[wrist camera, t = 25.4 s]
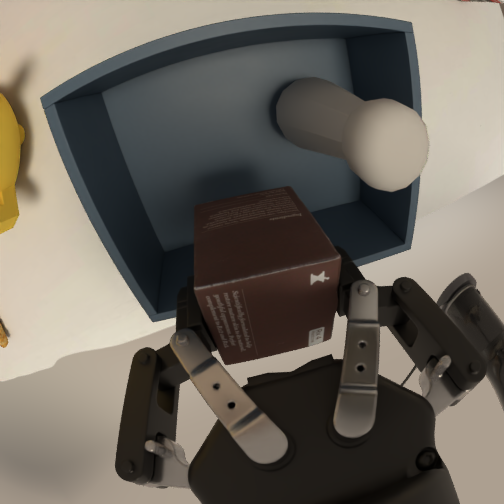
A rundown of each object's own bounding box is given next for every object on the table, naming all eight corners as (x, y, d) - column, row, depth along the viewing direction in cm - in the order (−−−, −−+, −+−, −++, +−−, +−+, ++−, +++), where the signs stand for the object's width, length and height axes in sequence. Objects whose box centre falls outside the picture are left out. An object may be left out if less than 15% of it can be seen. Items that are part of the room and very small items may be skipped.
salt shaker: (347, 106, 20) (462, 150, 10) (309, 154, 22) (398, 233, 12) (295, 63, 17) (402, 59, 7) (254, 117, 20) (318, 165, 9)
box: (192, 201, 16) (189, 287, 10) (291, 182, 16) (345, 254, 10) (213, 278, 19) (223, 367, 14) (295, 261, 20) (332, 342, 14)
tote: (361, 200, 27) (410, 249, 20) (161, 254, 27) (152, 322, 20) (345, 31, 17) (412, 22, 9) (95, 87, 16) (39, 97, 9)
